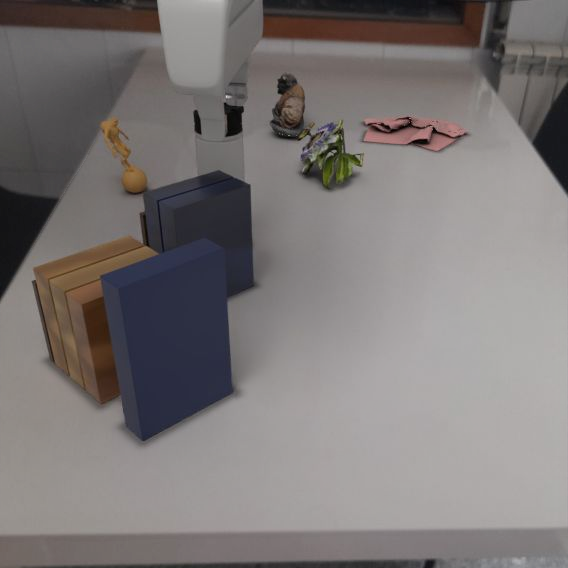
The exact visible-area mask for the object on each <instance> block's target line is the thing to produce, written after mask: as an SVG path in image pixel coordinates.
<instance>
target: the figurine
mask: <svg viewBox="0 0 568 568" xmlns="http://www.w3.org/2000/svg"><path fill="white" fill-rule="evenodd" d="M119 124H120V122H119V121H118V118H117V117H115V116H113V117H112V118H110V119H107V120H103V121H101V123H100V125H99V126H100V130H101V132H102V134H103V140H104V142H105V143H106V145H107V147H108V149H109V150H110V152H111V154H112V156H113V158H114V159H117V158H119V156H118V154H120V156H122V157H121V158H120V164H121V166H122V167H123V168H124V169H125V170H124V171H123V172H122V174H121V179H120V180H121V185H122V186H123V188H124V189H125V190H126V191H128V192H129V193H133V194H135V193H137V194H138V193H140V192H143V191H144V190H145V188H147V184H148V178H147V174H146V172H144V171H143V169H141V168H139V167H136V165H134V164H132V163H130V162H129V161H128V160H127V159H128V158H129V156H130V155H131V152H132V150H131V148H130V147H128V146H127V145H126V144H125V143H124V142H123V140H122V139H121V138H120V136H119V135H120V134H121V135H122V136H123V137H124V138H125V139H126V140H130V138H129V136H128V135H126V133H125V132H124V131H123V130H121V129H120V127H118V125H119ZM114 150H115V151H114Z"/></svg>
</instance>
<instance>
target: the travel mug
mask: <svg viewBox="0 0 568 568" xmlns="http://www.w3.org/2000/svg"><path fill="white" fill-rule="evenodd" d="M223 102H224V113H225V114H227V134H226V135H225V137H224V139H223V140H222V141H220V142H215V141H206V140H205V139H203V137H202V132H201V119H200V117H199V114H198V111H197V109H194V110H193V111H192V113H193V114H192V115H193V123H194V125H193V127H194V128H193V133H194V145H195V159H196V171H197V172H196V173H197V176H200V175H204V174H207V173H211V172H214V171H217V170H220V171H222V172H224V173H226V174H229V175H231V176H233V177H234V178H237V179H239V180H241V181H244V182H246V177H245V175H246V173H245V151H244V147H245V145H244V129H243V114H244V112H245V106H244V105H243V106H230V105H228V104H227V103H226V101H223Z"/></svg>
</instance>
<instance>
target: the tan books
mask: <svg viewBox="0 0 568 568" xmlns="http://www.w3.org/2000/svg"><path fill="white" fill-rule="evenodd" d="M158 254H159V253H157V252H155V251H154V250H152V249H151V248H149V247H147V246H145V245H144V244H143V242H141V241H139V240H138V239H136V238H135V237H133V236H131V235H126V236H123V237H121V238H117V239H115V240H112V241H109V242H106V243H103V244H99V245H97V246H94V247H91V248H88V249H86V250H83V251H79V252H76V253H73V254H71V255H67V256H64V257H61V258H58V259H55V260H52V261H50V262H46V263H43V264H40V265H38V266H35V267H34V266H33V268H32V270H33V275H34V278H35V279H33V280H31V284H32V285H31V286H32V290H33V293H34V297H35V301H36V305H37V310H38V314H39V319H40V322H41V328H42V331H43V335H44V340H45V344H46V347H47V348H46V349H47V352H48V355H49V360H50V361H51V363H54V364H55V365H56V367H57V368H58V369H60V370H61V371H62V372H63V373H64V374H65V375H67V376H68V377H70V379H71V380H73V381H74V382H75V383H76V384H77V385H78V386H80V387H81V388H82V389H83V390H84V391H85V392H86V393H88V395H90V396H91V397H92V398H93V399H94V400H96V402H97V403H99V405H103V404H105V403H107V402H109V401H111V400H113V399H115V398H118V397H119V396H121V395H120V389H119V383H118V377H117V372H116V366H115V360H114V354H113V349H112V343H111V337H110V331H109V326H108V320H107V314H106V308H105V303H104V297H103V291H102V285H101V280H100V275H103V274H106V273H109V272H111V271H114V270H117V269H120V268H122V267H125V266H128V265H131V264H133V263H136V262H139V261H142V260H144V259H147V258H150V257H153V256H155V255H158Z"/></svg>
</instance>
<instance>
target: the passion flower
mask: <svg viewBox="0 0 568 568" xmlns="http://www.w3.org/2000/svg"><path fill="white" fill-rule="evenodd" d="M343 124H344V120H343V119H342V118H340V119H338V121H337V123H334V121H332V122H330V123H327V124H324V126H322V125H321V127H317V131H316V132H315V134H312V133H311V131H312V128H313V127H314V126H315V122H311V123H309V124H308V125H307V126H306V127H303V129H302V131H301V133H300V134H299V135H298V136H297V142H299V141H301V140H302V139H303V138H305V137H306V136H309V137H310V138H309V140H308V142H307V143H305V146H302V153H301V154H300V157H299V159H301V160H300V161H301V162H302V164H304V166H303V168H302V171H301V173H302V174H309V173H310V172H311V170H312V168H313V166H314V164H316V163H317V162H318V168H319V169H320V170H322V184H323V186H324V187H327V189H328V190H330V189H331V183H332V181H333V178H334V175H335V173H336V178H335V179H336V181H335V182H336V185H337V186H340V184H342V183H343V182H344V181H347V180H348V179H349V178H350V177H352V174H353V168H354V167H353V165H354V166H355V167H358V168H359V167H360V168H362V167H363V165H364V156H365V153H364V152H363V153H362V152H361V153H353V154H352V153H348V152H346V142H345V130H344V127H343ZM333 151H336V152H333ZM329 153H331V155H329ZM328 155H329V156H328ZM357 156H359V157H357ZM335 166H336V168H337V169H336V171H335Z"/></svg>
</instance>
